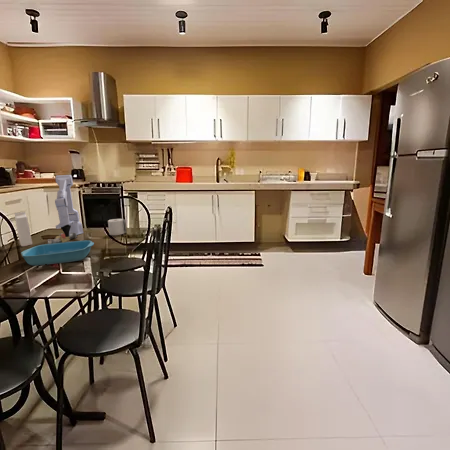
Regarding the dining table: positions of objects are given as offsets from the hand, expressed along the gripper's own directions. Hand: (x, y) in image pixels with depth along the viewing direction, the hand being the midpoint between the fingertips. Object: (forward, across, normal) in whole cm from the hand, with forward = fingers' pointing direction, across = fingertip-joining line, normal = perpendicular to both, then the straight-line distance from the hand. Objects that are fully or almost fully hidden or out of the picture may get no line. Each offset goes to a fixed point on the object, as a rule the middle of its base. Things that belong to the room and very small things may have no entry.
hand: (67, 236), depth 207 cm
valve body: (+4, -4, -7) cm, 10 cm away
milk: (+5, +5, -28) cm, 29 cm away
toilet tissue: (+5, -26, +21) cm, 34 cm away
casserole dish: (+5, +30, +19) cm, 35 cm away
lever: (0, -1, -4) cm, 4 cm away
